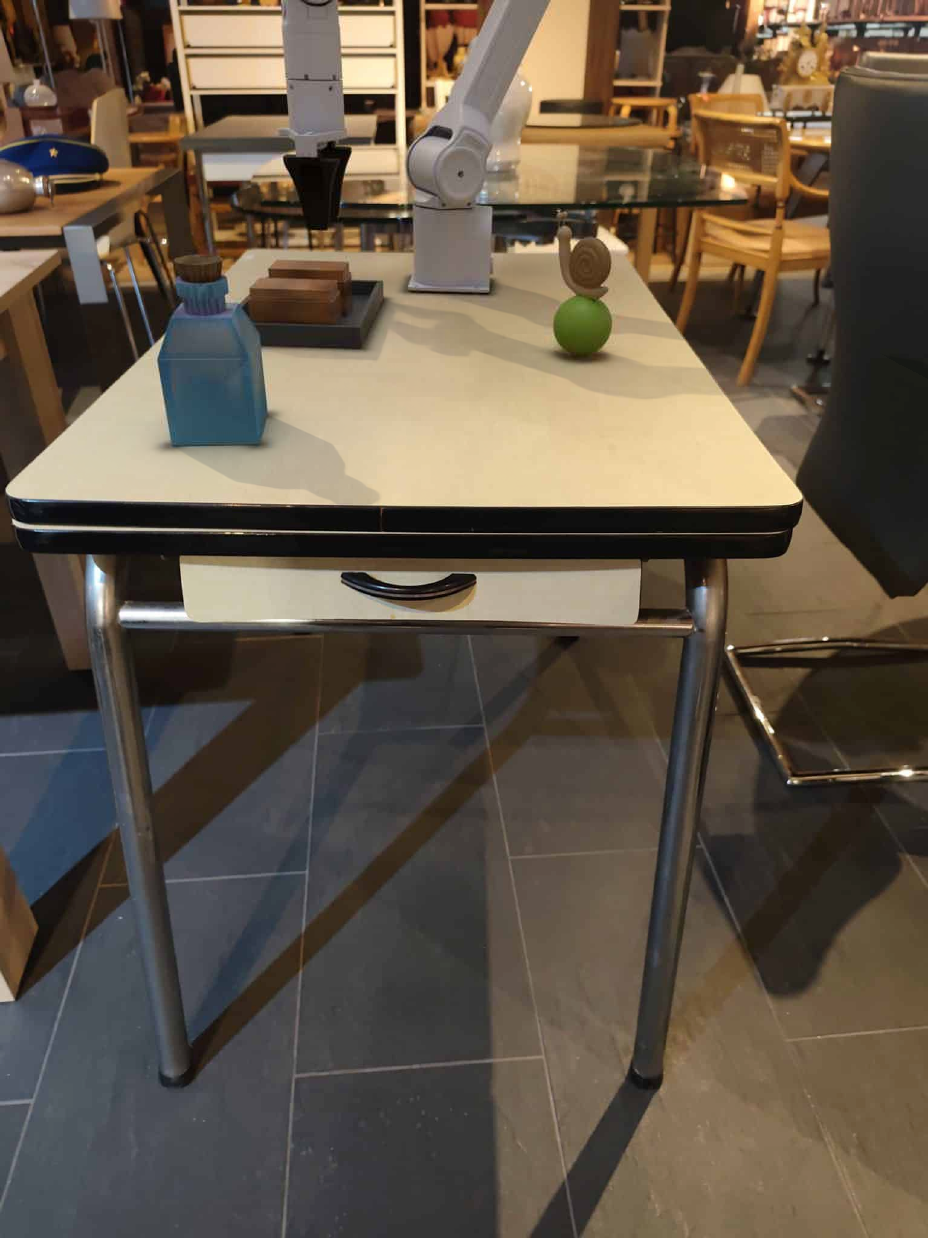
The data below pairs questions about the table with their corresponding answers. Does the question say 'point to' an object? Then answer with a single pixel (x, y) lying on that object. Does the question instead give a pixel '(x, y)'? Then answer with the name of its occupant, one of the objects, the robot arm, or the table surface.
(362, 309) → the tray
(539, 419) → the table surface
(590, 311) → the snail figurine
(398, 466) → the table surface
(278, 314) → the brown wooden block
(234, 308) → the perfume bottle
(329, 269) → the brown lidded wooden box
